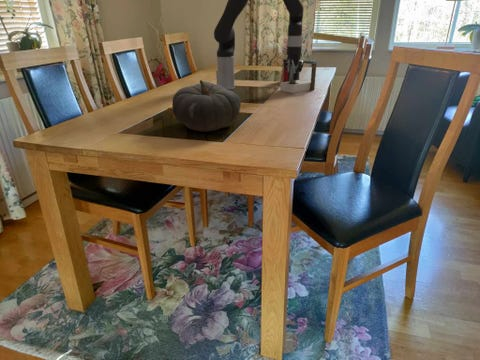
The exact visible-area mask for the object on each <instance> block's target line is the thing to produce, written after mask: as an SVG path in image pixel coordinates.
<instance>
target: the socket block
mask: <svg viewBox="0 0 480 360" xmlns="http://www.w3.org/2000/svg"><path fill="white" fill-rule="evenodd" d="M310 85H311V81H306V80H300V79H299V80H296V84H289V82H283V83H280V91H282V92H285V93H291V94H297V93H301V92H307V91H311V90H310Z"/></svg>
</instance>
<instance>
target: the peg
mask: <svg viewBox="0 0 480 360" xmlns="http://www.w3.org/2000/svg"><path fill="white" fill-rule="evenodd" d="M295 67H297V66H295ZM293 76H294V69H293V65H291V64H290V79H289V84H296V81H294V80H293Z"/></svg>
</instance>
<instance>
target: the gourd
mask: <svg viewBox="0 0 480 360" xmlns="http://www.w3.org/2000/svg"><path fill="white" fill-rule="evenodd" d="M171 105H172V106H171V107H172V114H173V116H174V118H175V119H176V120H177V121H178V122H179V123H181V124H182V125H184V127H186V128H188V129H189V130H192V131H196V132H197V131H198V132H203V133H205V132H213V131H218V130H220V129H224V128H229V127H230V126H231V125H233V124H234V123H235V122H236V121H237V119H238V116H239V113H240V112H241V111H240V110H241V107H242V101H241V99H240V97H239V96H238V94H236V93H235V92H234V91H232V90H231V89H229V90H228V89H226V88H224V87H222V86H220V85H217V84H214V83H212V82H210V81H209V82H208V81H203V79H201V80H199V83H196V84H193V85H189V86H185V87H182V88H180V89H179V90H177V91H176V92H175V93H174V95H173V97H172V103H171Z"/></svg>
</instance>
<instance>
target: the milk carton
mask: <svg viewBox="0 0 480 360" xmlns="http://www.w3.org/2000/svg"><path fill="white" fill-rule="evenodd" d="M281 52H282V54H283V59H282V67H281V68H282V69H281V75H280V83H279V84H281V83H283V82H289V79H288V71H286V70H285V66H284V62H283V60H284V59H287V57H288V55H287V49H283V50H281ZM287 68H288V67H287Z"/></svg>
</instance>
